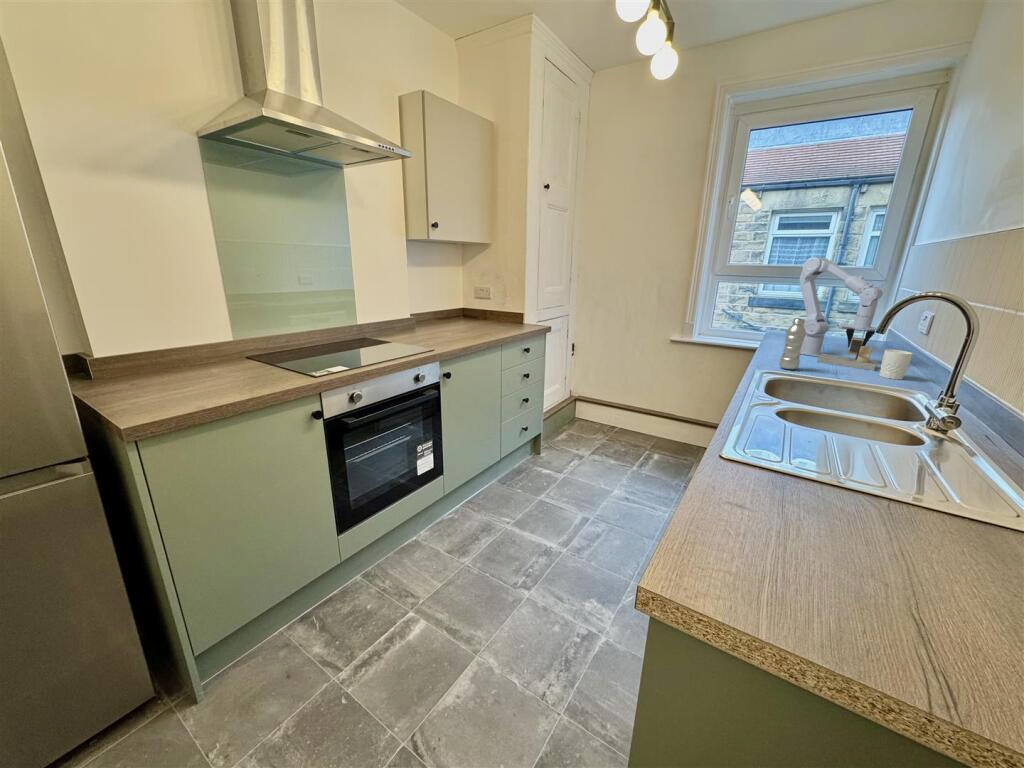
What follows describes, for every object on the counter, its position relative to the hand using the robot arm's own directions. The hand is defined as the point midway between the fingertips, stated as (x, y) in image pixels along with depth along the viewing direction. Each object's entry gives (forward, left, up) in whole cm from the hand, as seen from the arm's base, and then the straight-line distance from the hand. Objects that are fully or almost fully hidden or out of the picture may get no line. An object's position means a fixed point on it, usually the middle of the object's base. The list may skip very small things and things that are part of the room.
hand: (855, 347), depth 177 cm
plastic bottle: (-16, -38, -7) cm, 42 cm away
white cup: (+14, -20, -7) cm, 25 cm away
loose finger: (0, 0, -3) cm, 3 cm away
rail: (-1, -9, -7) cm, 11 cm away
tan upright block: (+4, -9, -5) cm, 11 cm away
